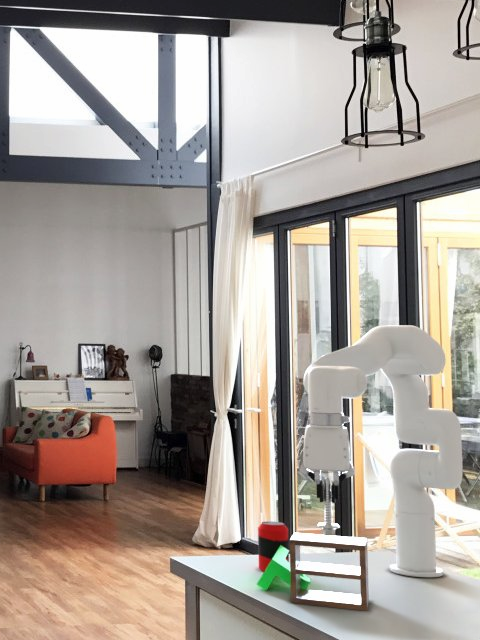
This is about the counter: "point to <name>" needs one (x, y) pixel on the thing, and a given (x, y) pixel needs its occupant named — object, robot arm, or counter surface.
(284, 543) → the soda can
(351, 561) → the counter surface
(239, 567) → the counter surface
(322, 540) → the shelf
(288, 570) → the bracket
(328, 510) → the screw
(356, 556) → the counter surface
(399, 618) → the counter surface
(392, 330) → the robot arm
